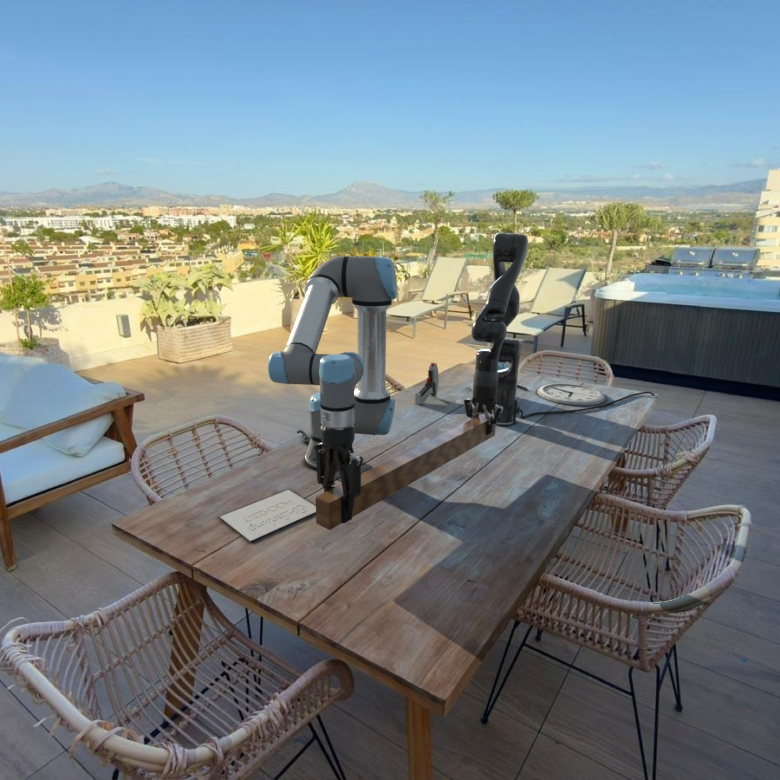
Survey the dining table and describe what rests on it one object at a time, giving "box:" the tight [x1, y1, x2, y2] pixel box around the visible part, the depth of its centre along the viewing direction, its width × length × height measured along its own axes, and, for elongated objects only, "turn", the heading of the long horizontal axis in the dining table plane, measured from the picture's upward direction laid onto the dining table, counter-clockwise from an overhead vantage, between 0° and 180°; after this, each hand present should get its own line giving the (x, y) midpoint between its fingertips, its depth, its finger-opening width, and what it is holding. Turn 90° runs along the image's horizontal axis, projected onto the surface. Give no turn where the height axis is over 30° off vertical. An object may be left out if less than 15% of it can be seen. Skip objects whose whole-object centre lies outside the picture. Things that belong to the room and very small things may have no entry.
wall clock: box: [537, 383, 606, 407], centre depth 241 cm, size 30×2×30 cm
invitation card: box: [219, 489, 316, 542], centre depth 138 cm, size 21×1×15 cm
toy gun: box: [414, 362, 439, 406], centre depth 228 cm, size 2×16×15 cm
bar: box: [315, 413, 497, 531], centre depth 147 cm, size 76×4×7 cm, turn 140°
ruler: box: [517, 384, 528, 391], centre depth 253 cm, size 15×1×1 cm, turn 34°
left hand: (338, 516), depth 123 cm, fingers closed on bar, 4 cm apart
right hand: (481, 432), depth 171 cm, fingers closed on bar, 4 cm apart
